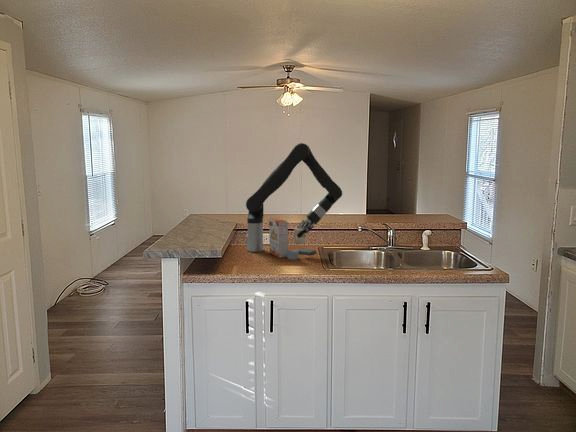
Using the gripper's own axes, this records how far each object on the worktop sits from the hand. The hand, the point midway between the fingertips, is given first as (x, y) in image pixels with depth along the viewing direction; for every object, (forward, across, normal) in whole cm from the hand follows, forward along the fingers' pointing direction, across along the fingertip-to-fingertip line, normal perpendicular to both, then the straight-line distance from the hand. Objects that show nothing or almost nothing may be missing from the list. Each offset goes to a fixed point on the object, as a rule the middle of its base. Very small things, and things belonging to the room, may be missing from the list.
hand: (296, 235), depth 278 cm
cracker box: (+15, -5, +2) cm, 16 cm away
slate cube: (+11, +5, +6) cm, 13 cm away
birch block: (+2, 0, +4) cm, 5 cm away
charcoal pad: (+2, -7, +14) cm, 16 cm away
